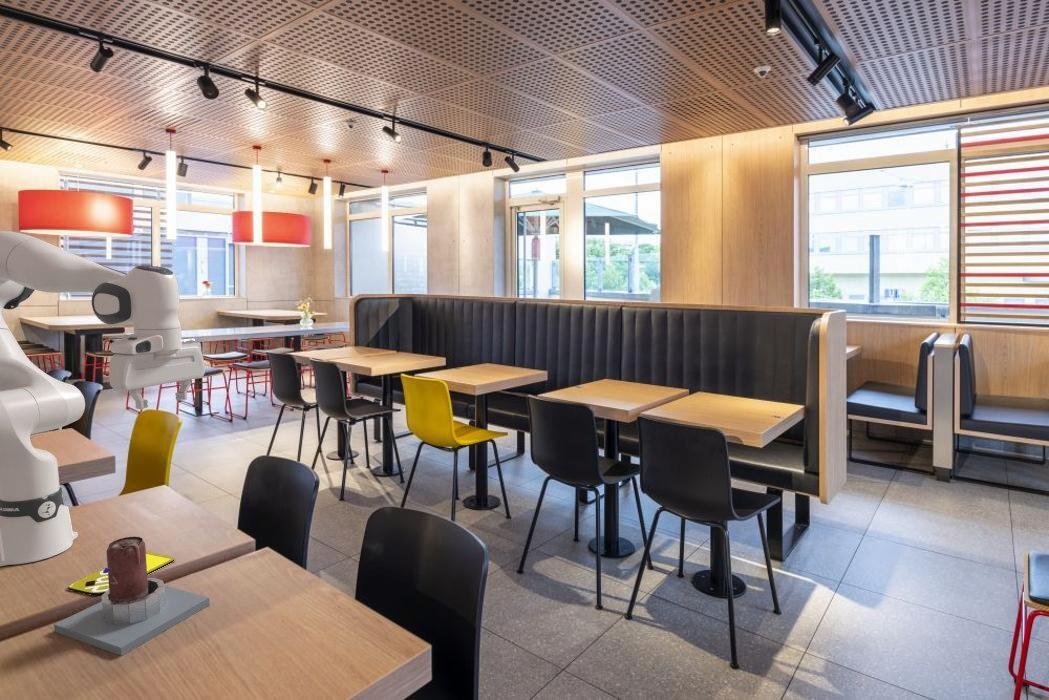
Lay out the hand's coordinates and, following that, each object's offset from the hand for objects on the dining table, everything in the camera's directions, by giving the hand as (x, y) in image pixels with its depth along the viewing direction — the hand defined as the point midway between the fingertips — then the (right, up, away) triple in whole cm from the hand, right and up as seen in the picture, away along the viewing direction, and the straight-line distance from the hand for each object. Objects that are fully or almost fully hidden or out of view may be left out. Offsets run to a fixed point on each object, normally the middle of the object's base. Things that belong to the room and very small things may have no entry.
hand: (162, 404), depth 135 cm
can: (+4, -38, -18) cm, 42 cm away
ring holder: (+5, -38, -17) cm, 42 cm away
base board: (+5, -40, -17) cm, 43 cm away
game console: (-8, -38, 0) cm, 39 cm away
